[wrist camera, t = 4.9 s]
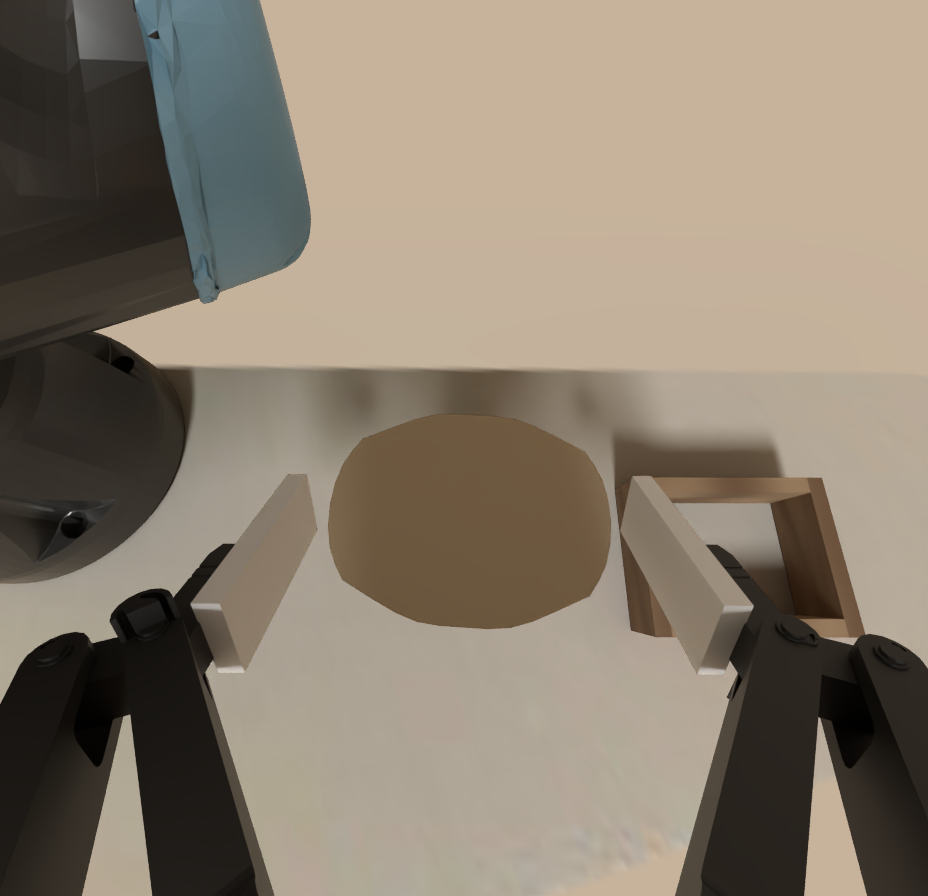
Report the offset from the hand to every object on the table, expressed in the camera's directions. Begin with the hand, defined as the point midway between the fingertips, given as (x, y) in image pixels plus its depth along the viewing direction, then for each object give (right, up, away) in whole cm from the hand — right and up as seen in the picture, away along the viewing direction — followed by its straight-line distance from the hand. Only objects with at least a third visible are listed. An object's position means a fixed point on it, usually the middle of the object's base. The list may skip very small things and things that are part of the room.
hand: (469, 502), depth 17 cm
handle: (0, -4, +7) cm, 8 cm away
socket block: (+14, -4, +7) cm, 16 cm away
